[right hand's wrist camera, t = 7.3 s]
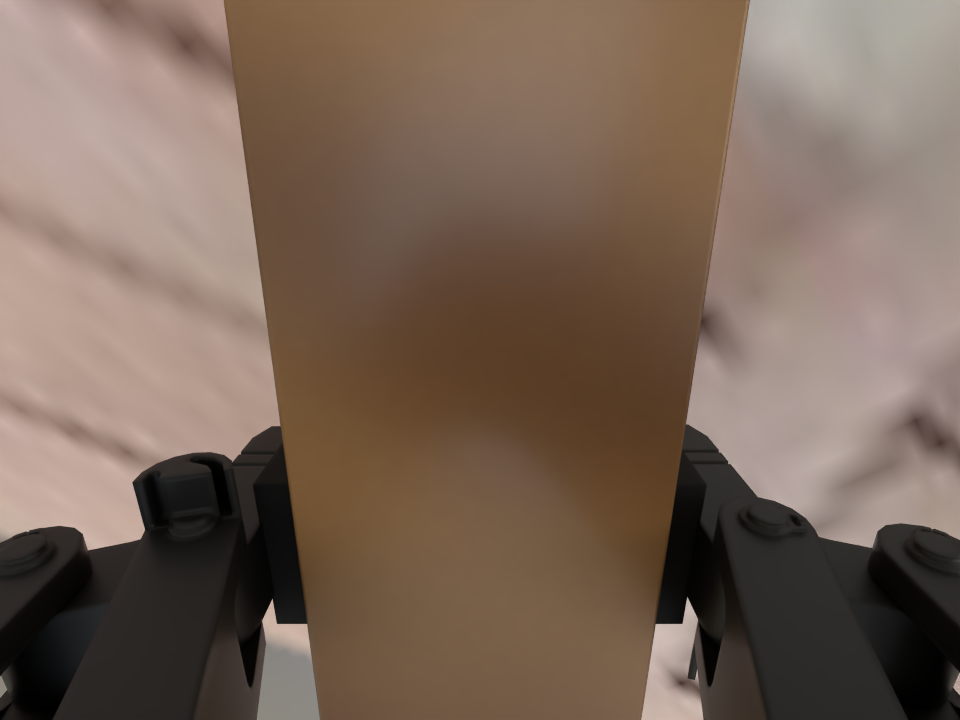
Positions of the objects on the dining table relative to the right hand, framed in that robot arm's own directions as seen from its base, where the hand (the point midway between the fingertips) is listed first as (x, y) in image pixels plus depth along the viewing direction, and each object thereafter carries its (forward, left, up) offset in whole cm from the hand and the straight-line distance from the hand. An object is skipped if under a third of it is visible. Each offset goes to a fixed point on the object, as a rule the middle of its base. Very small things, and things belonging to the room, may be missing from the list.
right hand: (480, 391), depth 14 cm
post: (+27, -20, -1) cm, 33 cm away
